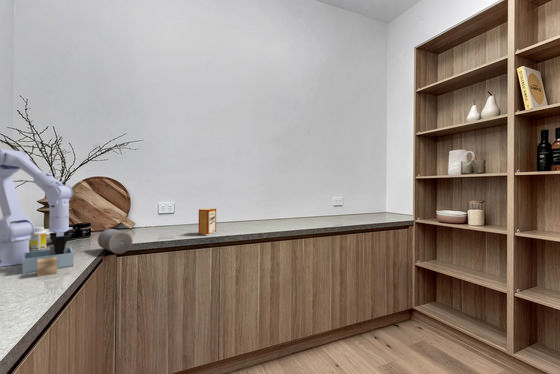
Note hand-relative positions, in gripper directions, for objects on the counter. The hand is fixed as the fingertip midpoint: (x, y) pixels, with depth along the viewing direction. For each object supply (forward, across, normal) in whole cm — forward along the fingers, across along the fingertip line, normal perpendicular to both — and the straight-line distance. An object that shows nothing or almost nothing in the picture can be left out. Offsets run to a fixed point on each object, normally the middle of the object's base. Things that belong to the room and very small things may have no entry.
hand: (59, 252), depth 103 cm
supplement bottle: (+5, +36, +6) cm, 37 cm away
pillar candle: (0, +17, -19) cm, 26 cm away
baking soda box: (+5, +24, -73) cm, 77 cm away
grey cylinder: (+4, 0, 0) cm, 4 cm away
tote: (+5, 0, +3) cm, 6 cm away
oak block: (+5, -10, +3) cm, 12 cm away
